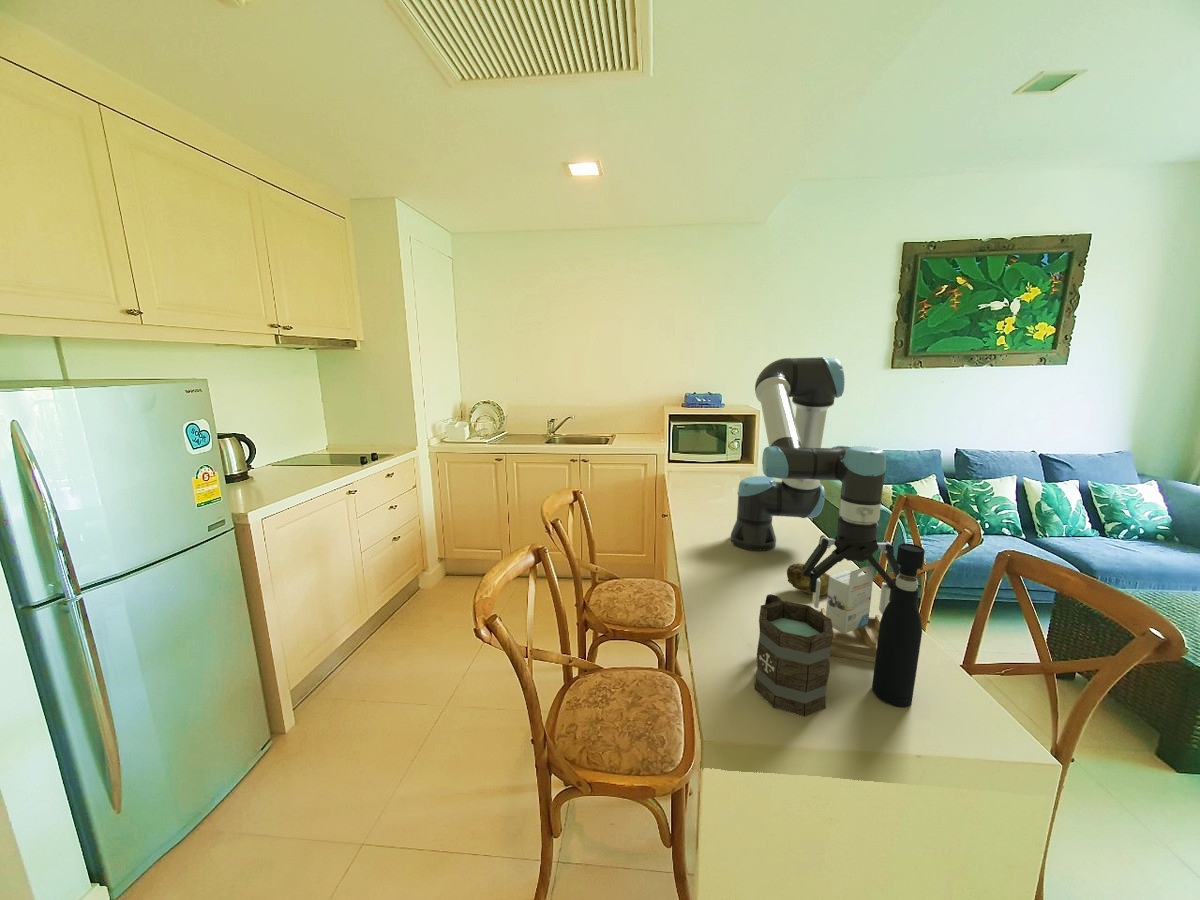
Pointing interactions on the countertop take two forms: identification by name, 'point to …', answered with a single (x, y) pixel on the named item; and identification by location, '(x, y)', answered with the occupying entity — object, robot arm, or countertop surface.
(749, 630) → the countertop surface
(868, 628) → the rack
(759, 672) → the mug
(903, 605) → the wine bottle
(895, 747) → the countertop surface
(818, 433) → the robot arm
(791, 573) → the potato
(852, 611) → the ink box
